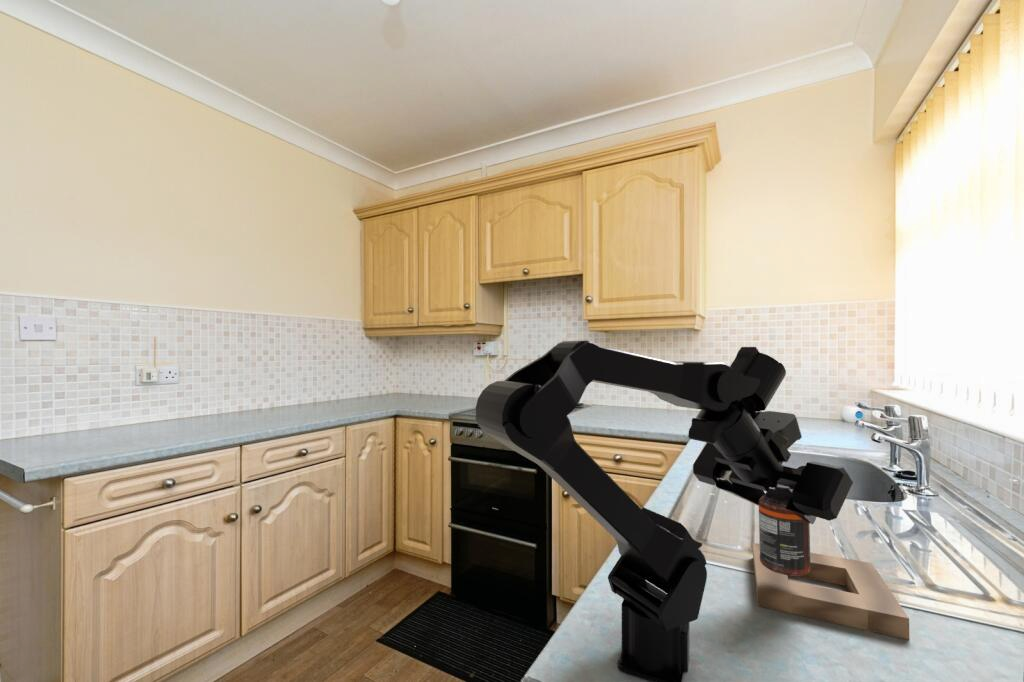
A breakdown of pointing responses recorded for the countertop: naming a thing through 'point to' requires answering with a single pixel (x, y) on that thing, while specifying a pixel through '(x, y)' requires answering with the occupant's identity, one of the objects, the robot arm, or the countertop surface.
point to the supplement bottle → (783, 535)
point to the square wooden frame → (834, 594)
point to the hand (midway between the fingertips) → (789, 513)
